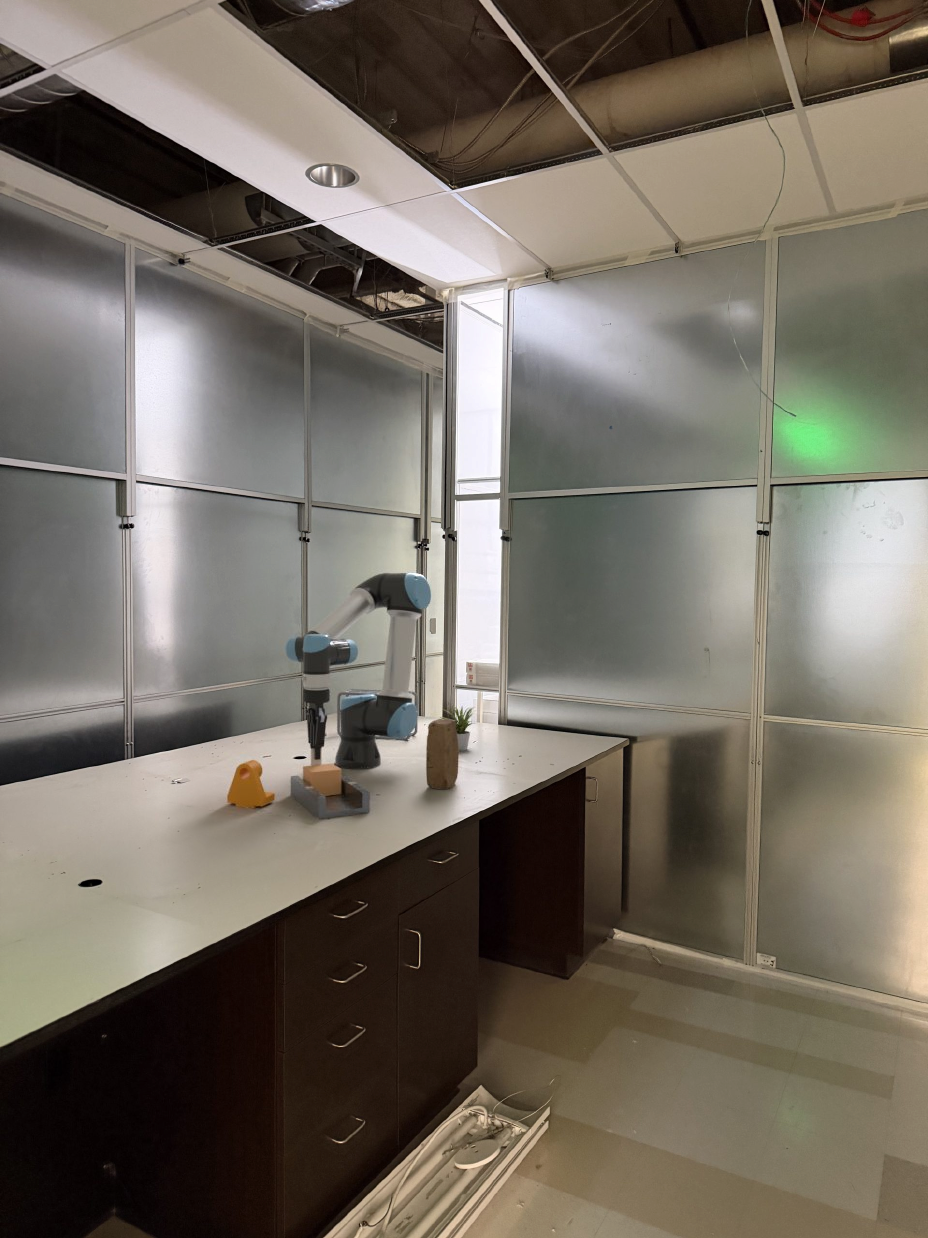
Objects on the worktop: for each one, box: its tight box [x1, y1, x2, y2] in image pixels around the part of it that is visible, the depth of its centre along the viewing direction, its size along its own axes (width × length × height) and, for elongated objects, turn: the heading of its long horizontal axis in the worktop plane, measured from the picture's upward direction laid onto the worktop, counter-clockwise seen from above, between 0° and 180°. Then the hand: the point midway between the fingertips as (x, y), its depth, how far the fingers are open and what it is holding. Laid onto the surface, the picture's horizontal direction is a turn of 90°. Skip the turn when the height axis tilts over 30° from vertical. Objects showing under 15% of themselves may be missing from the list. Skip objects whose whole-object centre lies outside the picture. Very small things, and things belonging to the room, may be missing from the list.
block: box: [425, 718, 459, 790], centre depth 246 cm, size 11×8×20 cm
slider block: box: [302, 763, 342, 796], centre depth 231 cm, size 8×9×7 cm
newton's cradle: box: [336, 688, 419, 741], centre depth 323 cm, size 30×10×18 cm, turn 77°
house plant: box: [439, 705, 477, 752], centre depth 301 cm, size 14×14×16 cm
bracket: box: [226, 759, 276, 809], centre depth 225 cm, size 11×7×12 cm, turn 73°
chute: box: [290, 773, 371, 820], centre depth 226 cm, size 26×14×6 cm, turn 28°
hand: (316, 770), depth 236 cm, fingers closed
